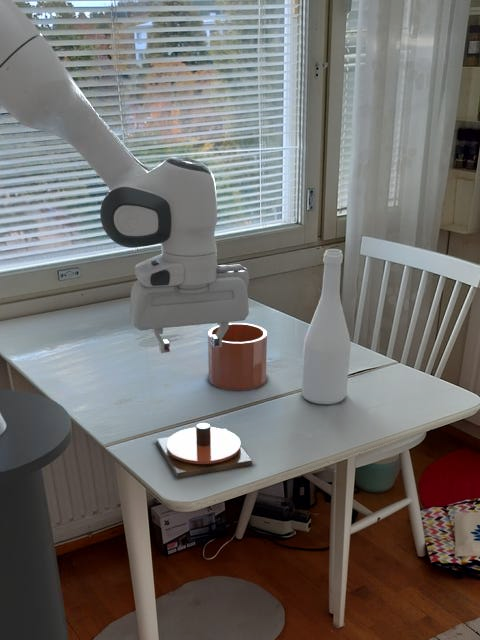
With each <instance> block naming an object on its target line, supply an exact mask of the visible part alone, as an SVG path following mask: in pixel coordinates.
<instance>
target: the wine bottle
mask: <svg viewBox="0 0 480 640" xmlns="http://www.w3.org/2000/svg"><path fill="white" fill-rule="evenodd" d="M343 258H344V254H343V251H342V250H341V249H340V248H339V249H338V248H327V249H326V250H325V251H324V253H323V262H322V263H323V264H324V265H323V266H324V267H323V275H322V289H321V294H320V298H319V300H318V304H317V306H316V309H315V311H314V313H313V317H312V319H311V322H310V324H309V327H308V328H307V332H306V334H305V337H304V340H303V350H302V351H303V352H302V368H301V370H302V371H301V387H300V388H301V390H300V391H301V395H302V397H303V398H304V399H305V400H306V401H308V402H310V403H313V404H317V405H333V404H337V403H340V402H342V401H343V400H344V399H345V397H346V395H347V393H348V392H347V391H348V380H349V367H350V357H351V345H352V343H351V337H350V332H349V329H348V325H347V321H346V318H345V313H344V310H343V305H342V300H341V293H340V289H341V274H342V273H341V271H342V270H341V269H342V264H343V260H344V259H343Z"/></svg>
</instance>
